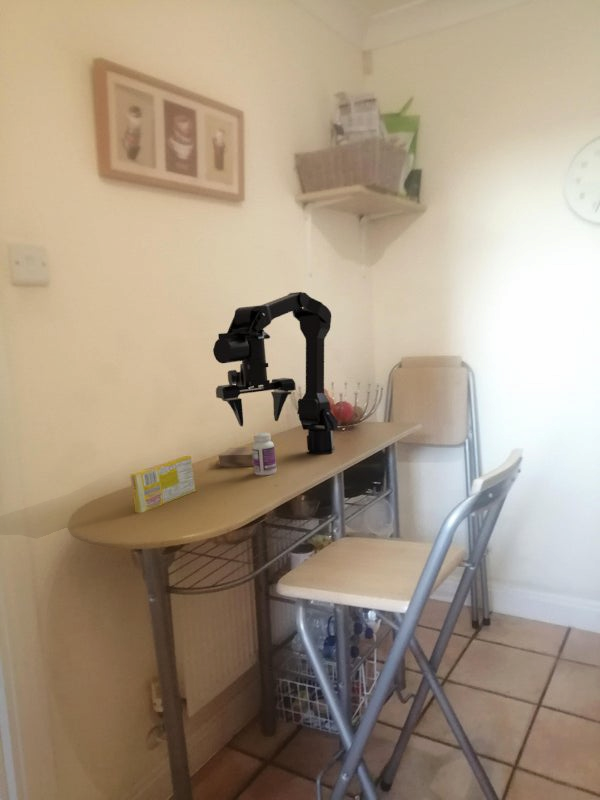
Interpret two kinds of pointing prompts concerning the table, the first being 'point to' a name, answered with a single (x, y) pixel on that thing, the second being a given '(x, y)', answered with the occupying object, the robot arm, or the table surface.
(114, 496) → the table surface
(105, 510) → the table surface
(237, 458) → the tan flat square block
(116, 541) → the table surface
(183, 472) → the candy box
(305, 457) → the table surface
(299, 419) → the robot arm
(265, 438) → the pill bottle
